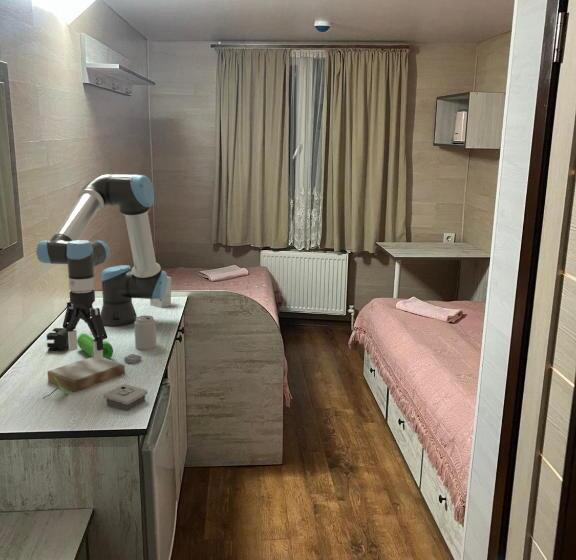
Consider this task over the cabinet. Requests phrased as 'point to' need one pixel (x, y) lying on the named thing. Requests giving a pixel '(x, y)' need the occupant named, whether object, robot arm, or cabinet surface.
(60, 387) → the seedling
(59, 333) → the end cap
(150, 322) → the can
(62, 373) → the stand
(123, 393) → the electrical switch
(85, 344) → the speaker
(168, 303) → the skincare box
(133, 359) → the grey square block
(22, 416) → the cabinet surface
